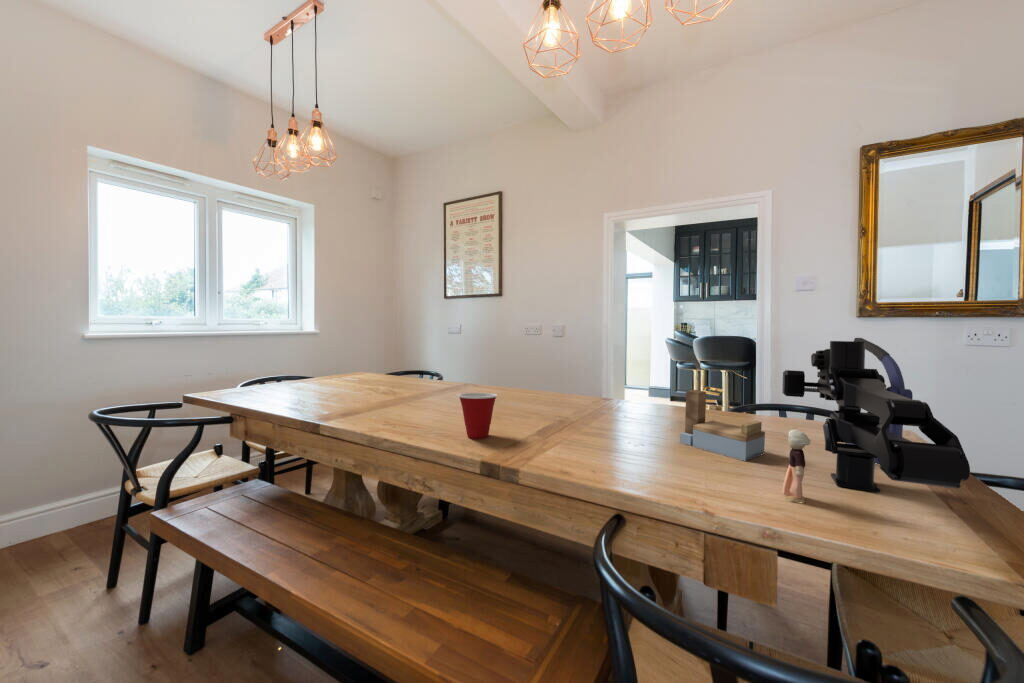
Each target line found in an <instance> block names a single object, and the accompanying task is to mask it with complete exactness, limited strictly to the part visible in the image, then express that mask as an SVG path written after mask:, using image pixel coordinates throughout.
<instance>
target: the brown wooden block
mask: <svg viewBox="0 0 1024 683" xmlns="http://www.w3.org/2000/svg"><path fill="white" fill-rule="evenodd" d="M706 403H707V391H704V390H698V389H689V390H686V391H685V419H684V420H685V422H684V433H688V434H692V435H693V425H696V424H701V423H705V422H706V410H707V409H706V408H707V407H706Z"/></svg>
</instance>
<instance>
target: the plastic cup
mask: <svg viewBox="0 0 1024 683" xmlns="http://www.w3.org/2000/svg"><path fill="white" fill-rule="evenodd" d="M457 397H458V398H459V400H460V403H461V409H462V413H463V414H462V415H463V421H464V426H465V430H466V431H465V432H466V435H467V438H469V439H472V440H482V439H486V438H488V437H489V434H490V429H491V428H490V427H491V425H492V419H493V418H492V417H493V411H494V405H495V403H496V402H495V401H496V399H497V397H498V394H497V393H489V392H470V393H469V392H468V393H460V394H458V395H457Z"/></svg>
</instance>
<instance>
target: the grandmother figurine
mask: <svg viewBox="0 0 1024 683" xmlns="http://www.w3.org/2000/svg"><path fill="white" fill-rule="evenodd" d="M787 444H788V446H789V447H790V448H791V449H790V450H789V462H788V463H789V464H788V467H787V470H786V474H785V477H784V480H783V485H782V491H781V492H782V494H783V495H786V497H785V498H786V499H785V500H786V501H788V500H790V501H794V502H802V503H801V504H805V503H806V500H805V499H804V496H803V484H802V482H803V480H804V476H805V468H806V458H805V452H804V450H803V449H804V448H805V446H809V445H811V440H810V439H809V437H808V435H807V434H806V433H805V432H803V431H802V430H800V429H796V428H795V429H791V430H789V432H788V440H787ZM790 501H789V502H790ZM794 502H793V503H794ZM804 502H805V503H804Z"/></svg>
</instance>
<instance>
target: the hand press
mask: <svg viewBox="0 0 1024 683" xmlns="http://www.w3.org/2000/svg"><path fill="white" fill-rule="evenodd" d="M853 341H857V342H865V351H867V352H869V353H871V354H872V355H873V356H875V358H876V359H878V360H879V362H880V363H881V364H882V365H883V367H884V370H885V373H886V375H887V378H888V380H889V384H890V386H888V387H886V389H887V391H890V392H893V393H896V394H899V395H901V396H904V397H907V398H910V399H913V398H914V397H913V391H912V390H911V389H909V388H906V386H905V381H904V378H903V373H902V371H901V368H900V367H899V365H898V363H897V361H896V360H895V359H894V358H893V357H892V356H891V354H890V353H889V352H888V351H886V350H885V349H884V348H882V347H880V346H879V345H877V344H875V343H873V342H871V341H868V340H867V339H864V338H863V337H855V338H854V340H853ZM866 413H870V412H868V411H866ZM886 431H889V432H891V433H893V434H896V435H898V436H900V437H903V431H904V425H895V424H889V426H888V428H887V429H886ZM844 444H852V443H844ZM853 445H855V444H853ZM875 463H877V464H876V465H878V464H880V463H879V460H878V458H875Z"/></svg>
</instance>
